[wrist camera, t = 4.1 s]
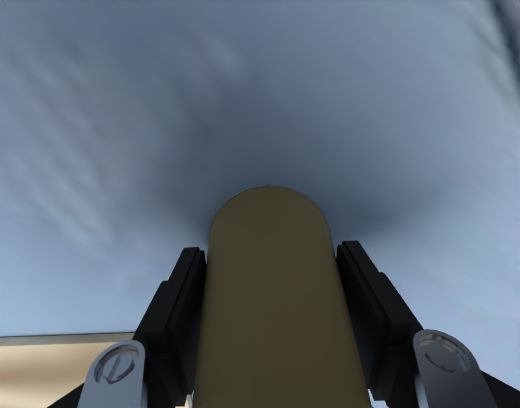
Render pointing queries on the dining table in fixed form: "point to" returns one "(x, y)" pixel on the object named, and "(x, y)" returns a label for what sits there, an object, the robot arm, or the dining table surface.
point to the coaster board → (49, 366)
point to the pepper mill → (275, 310)
